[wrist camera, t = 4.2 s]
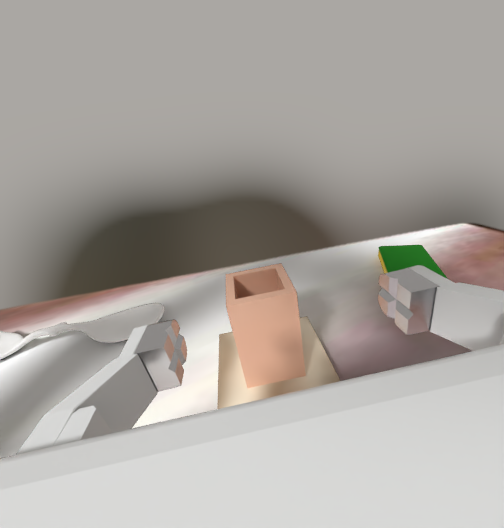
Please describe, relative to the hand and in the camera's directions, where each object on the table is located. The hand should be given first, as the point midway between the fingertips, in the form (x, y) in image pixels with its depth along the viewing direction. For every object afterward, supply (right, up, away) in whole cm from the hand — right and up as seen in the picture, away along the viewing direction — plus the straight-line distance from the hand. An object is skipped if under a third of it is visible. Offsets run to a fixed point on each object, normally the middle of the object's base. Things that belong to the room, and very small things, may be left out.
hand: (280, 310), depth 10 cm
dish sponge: (+25, 0, +32) cm, 41 cm away
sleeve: (+1, -9, +17) cm, 20 cm away
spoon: (-31, -11, +30) cm, 44 cm away
